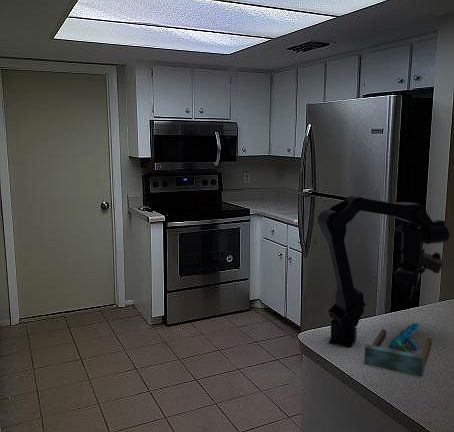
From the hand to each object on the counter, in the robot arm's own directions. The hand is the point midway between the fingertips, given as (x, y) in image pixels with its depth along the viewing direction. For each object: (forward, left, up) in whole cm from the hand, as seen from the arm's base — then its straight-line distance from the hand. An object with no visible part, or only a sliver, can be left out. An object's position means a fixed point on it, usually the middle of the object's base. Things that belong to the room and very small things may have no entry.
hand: (411, 296), depth 137 cm
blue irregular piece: (0, -10, -13) cm, 16 cm away
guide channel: (0, -14, -12) cm, 19 cm away
